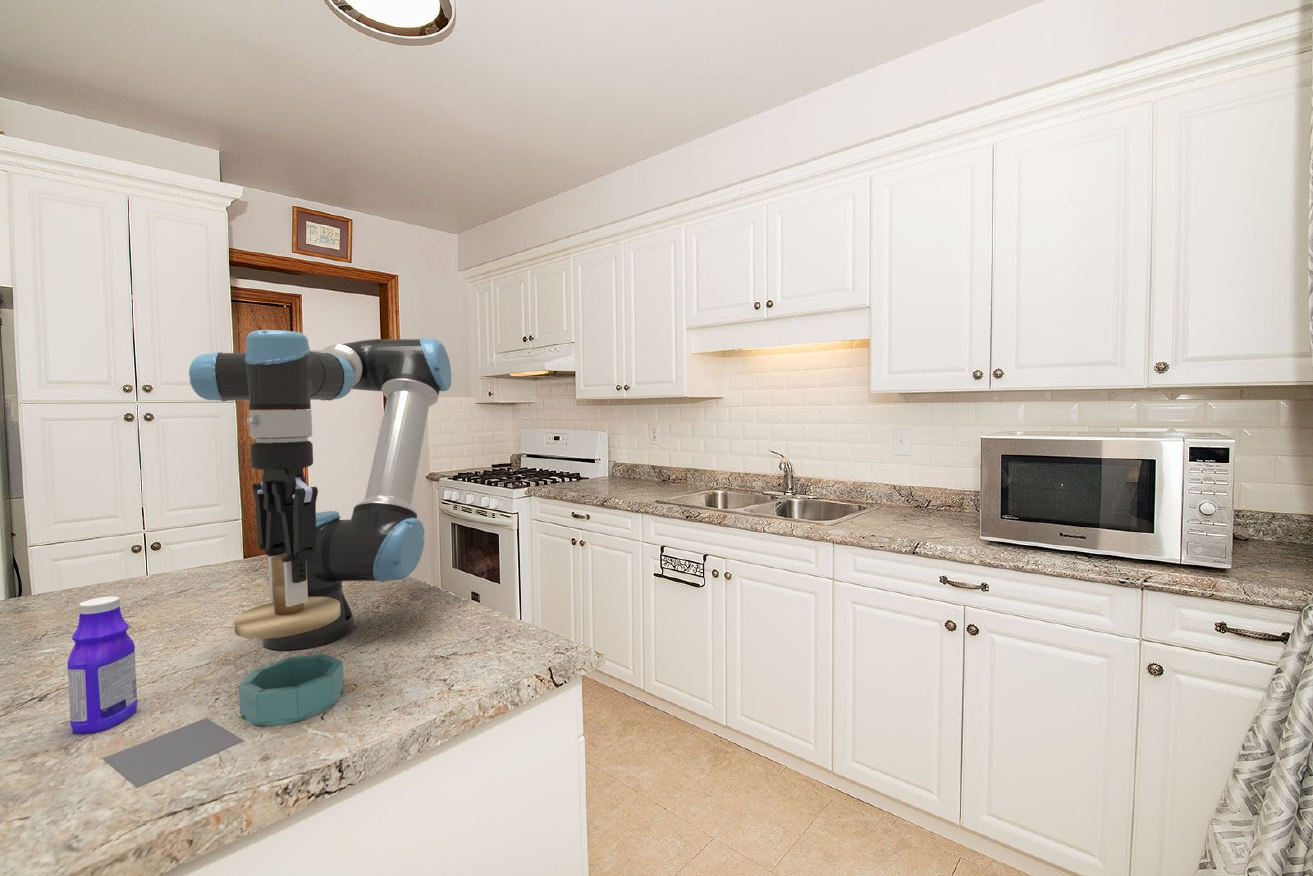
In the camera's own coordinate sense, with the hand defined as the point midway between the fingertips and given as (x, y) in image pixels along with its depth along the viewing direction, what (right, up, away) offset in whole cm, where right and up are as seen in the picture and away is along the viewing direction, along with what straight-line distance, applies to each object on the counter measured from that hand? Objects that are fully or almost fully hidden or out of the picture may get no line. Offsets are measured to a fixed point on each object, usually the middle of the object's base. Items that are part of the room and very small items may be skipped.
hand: (289, 601), depth 85 cm
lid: (0, -3, 0) cm, 3 cm away
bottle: (-24, -16, -3) cm, 29 cm away
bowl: (0, -16, +1) cm, 16 cm away
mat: (-8, -16, -10) cm, 21 cm away
